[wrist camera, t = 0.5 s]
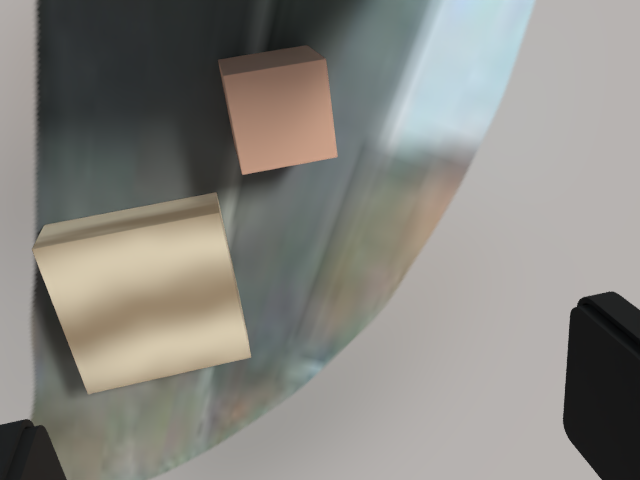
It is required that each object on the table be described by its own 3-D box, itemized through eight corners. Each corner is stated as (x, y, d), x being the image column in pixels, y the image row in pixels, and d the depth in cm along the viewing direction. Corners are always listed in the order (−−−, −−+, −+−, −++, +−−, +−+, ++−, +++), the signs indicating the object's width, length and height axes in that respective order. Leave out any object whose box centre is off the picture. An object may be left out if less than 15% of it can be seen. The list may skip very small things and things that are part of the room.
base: (44, 225, 38) (31, 249, 35) (216, 192, 40) (219, 212, 36) (94, 362, 43) (88, 394, 40) (246, 329, 45) (251, 357, 41)
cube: (217, 59, 36) (223, 75, 31) (307, 44, 37) (326, 58, 32) (234, 146, 39) (242, 174, 34) (318, 131, 39) (337, 156, 34)
